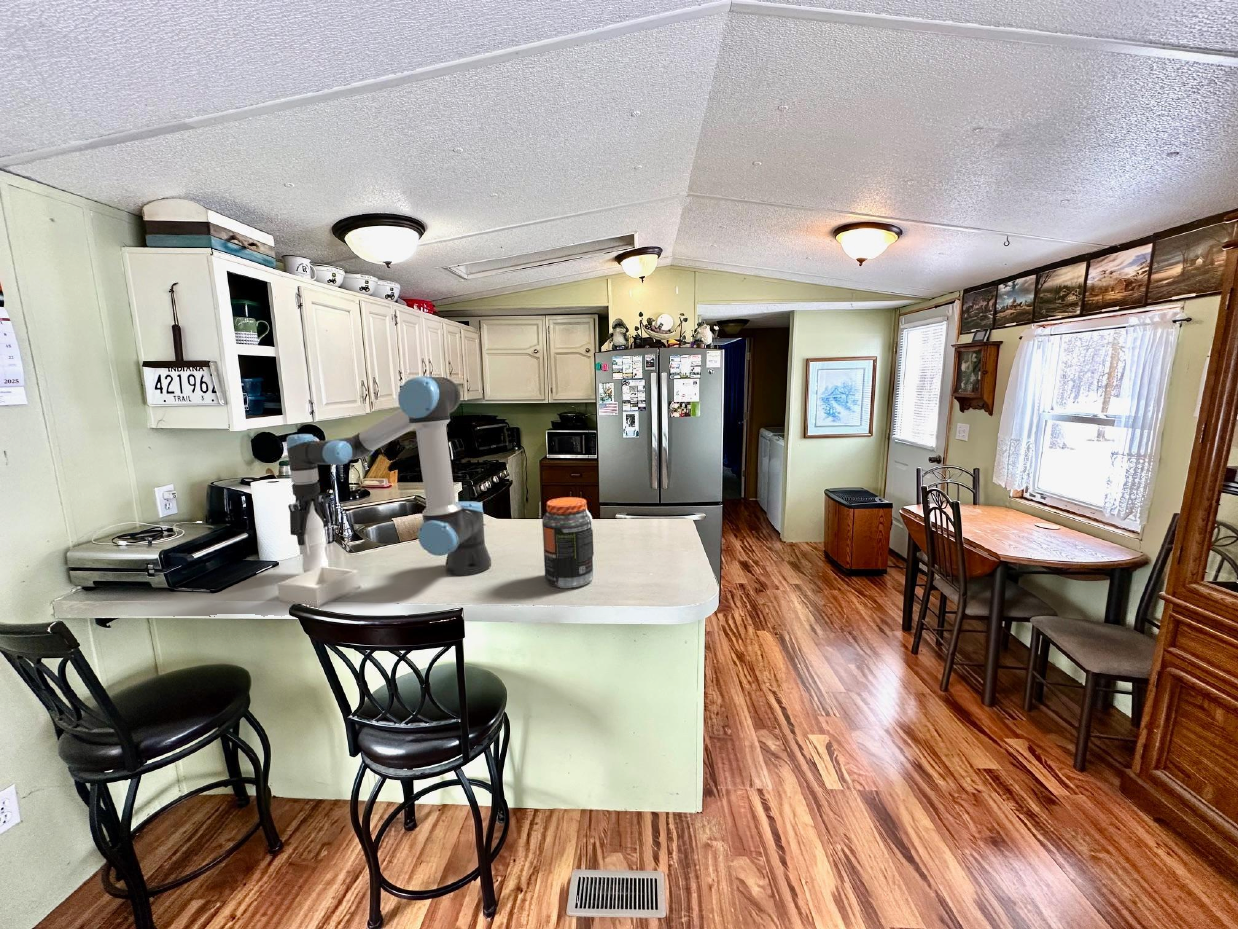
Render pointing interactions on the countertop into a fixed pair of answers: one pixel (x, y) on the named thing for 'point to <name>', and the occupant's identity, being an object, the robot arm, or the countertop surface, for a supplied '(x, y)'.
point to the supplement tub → (568, 543)
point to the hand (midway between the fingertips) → (313, 549)
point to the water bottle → (314, 542)
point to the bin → (319, 586)
